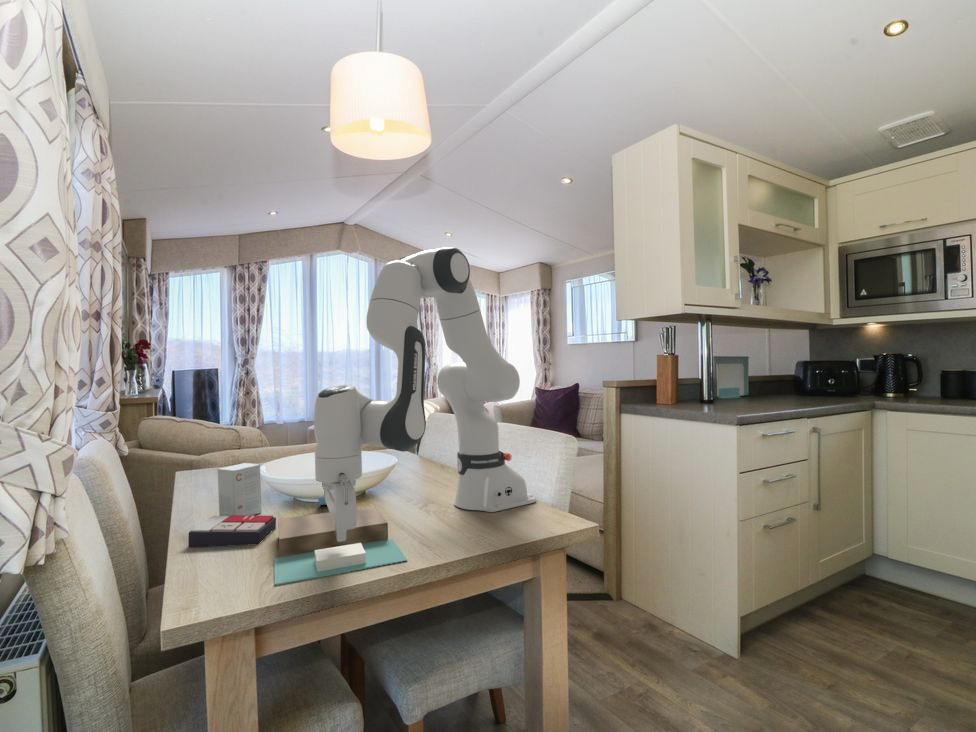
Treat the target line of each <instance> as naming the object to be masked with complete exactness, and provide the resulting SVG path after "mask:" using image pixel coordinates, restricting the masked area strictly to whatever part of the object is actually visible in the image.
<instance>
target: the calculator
mask: <svg viewBox="0 0 976 732" xmlns="http://www.w3.org/2000/svg"><path fill="white" fill-rule="evenodd" d="M276 528H277V518H276V516H275V517H274V515H259V514H256V515H231V516H230V517H229V516H219V515H212V516H211V517H209V518H208V519H207V520H205V521H203V522H202V523H200V524H199V525H197V526H196V527H195V528H193V529H191V530H190V531H189V532H188V542H187V543H188V545H187V546H188V547H194V548H208V546H209V547H218V546H219V547H228V545H235V546H249V545H248V544H256V545H259V543H260V542H261V541H262V540H263V539H264V538H265V537H266V536H267V535H268V534H269V533H270V532H271V531H272V532H273V531H275V530H276ZM272 532H271V533H272ZM271 533H270V534H271ZM270 534H269V535H270ZM269 535H268V536H269ZM268 536H267V537H268ZM267 537H266V538H267ZM266 538H265V539H266ZM265 539H264V540H265ZM264 540H263V541H264ZM263 541H262V542H263ZM262 542H261V543H262ZM261 543H260V544H261Z"/></svg>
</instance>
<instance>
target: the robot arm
mask: <svg viewBox="0 0 976 732" xmlns="http://www.w3.org/2000/svg"><path fill="white" fill-rule="evenodd" d="M470 274H471V268H470V263H469V260H468V258H467V257H466V256H465V254H464V253H463V252H462V251H461V250H460V249H459V248H457V247H451V246H445V247H440V248H435V249H428V250H427V249H425V250H422V251H419V252H418V253H414V254H411V255H409V256H403V257H401V258H399V259H396V260H393V261H389V262H387V263H386V264H384V265H383V266H382V267H381V270H380V272H379V274H378V276H377V279H376V281H375V284H374V286H373V290H372V293H371V295H370V300H369V304H368V308H367V313H366V328H367V331H368V333H369V335H370V336H371V338H372V339H373V340H375V342H376V343H378V344H380V345H381V346H382V347H385V348H387V349H389V350H391V351H393V352H394V353H395V355H396V357H397V379H396V394H395V396H394V398H393V399H392V400H379V399H373V398H372V397H367V396H365V395H363V394H362V393H360V392H359V391H358V390H357V387H356V386H354V385H348V384H347V385H346V384H345V385H338V386H337V385H336V386H332V387H328V388H325V389H323V390H322V391H320V392H319V393H318V394H317V396H316V399H315V404H314V413H313V431H314V432H313V433H314V437H315V441H316V448H315V452H314V470H315V471H314V477H315V480H316V482H318V481H319V482H322V487H323V489H324V496H325V501H326V504H327V509H328V511H329V512H330V514H331V517H332V519H333V522H334V526H335V536H336V539H337V541H338V542H341V541H345V540H346V531H347V530H349V529H354V528H356V525H357V510H356V509H357V497H356V496H357V495H356V490H355V487H356V485H357V479H360V478H362V477H363V457H362V456H363V455H362V453H363V451H362V446H363V445H364V446H370V447H376V448H387V449H389V450H394V451H398V452H409V451H410V450H412V449H413V448H415V446H417V445H418V444H419V442H420V441H421V440H422V439H423V437H424V435H425V432H426V427H427V426H426V423H427V421H426V413H425V403H424V402H425V382H426V381H425V376H426V375H425V374H426V342H425V341H426V340H425V337H424V334H423V332H422V330H420V329H419V326H418V325H419V324H418V322H419V321H418V318H419V313H420V307H421V299H424V298H425V299H427V298H434V299H435V303H436V309H437V314H438V317H439V321H440V325H441V328H442V333H443V336H444V340H445V344H446V346H447V347H448V349H449V350H451V351H452V352H454V353H455V354H456V355H457V356H459V358H460V359H461V360H462V361H458V362H453V363H450V364H447V365H444V366H442V368H441V369H440V371H439V372H438V375H437V381H436V383H437V388H438V391H439V392H440V394H441V395H442V397H444V398H445V399H446V400H447V402H448V403H449V405H450V407H451V410H452V411H453V414H454V417H455V420H456V425H457V438H458V452H457V455H456V456H457V457H456V458H457V459H456V467H457V473H458V477H457V486H456V487H457V488H456V493H455V498H454V502H453V505H454V506H455V507H457V508H460V509H463V510H469V511H483V512H489V513H495V512H500V511H505V510H509V509H512V508H516V507H517V508H518V507H521V506H525V505H530V504H533V503H535V502H536V497H535V495H534V494H533V493H531V492H529V491H528V488H527V483H526V481H525V478H524V477H523V476H522V475H521V474H520V473H518V472H517V471H515V470H514V469H513V468H511V467H510V466H508V464H506V461H507V462H510V461H511V460H512V459H513V456H512V454H511V453H508V452H503V451H501V450H500V445H499V443H500V441H499V424H498V422H497V420H496V418H494V417H493V416H491V415H490V414H489V413H488V410H487V409H486V406H485V404H484V403H499V402H503V401H504V402H505V401H508V400H511V399H513V398H514V397H516V395H517V393H518V391H519V389H520V384H521V382H520V381H521V379H520V375H519V372H518V370H517V368H516V367H515V366H514V365H513V364H511V363H510V362H508V361H507V360H505V358H504V357H502V355H501V354H500V353H499V352H498V351H497V349H496V348H495V347H494V345H493V344H492V342H491V340H490V338H489V336H488V335H489V334H488V333H487V330H486V327H485V322H484V318H483V316H482V315H483V314H482V311H481V307H480V303H479V300H478V297H477V294H476V292H475V288H474V286H473V285H472V282H471V280H470V276H471V275H470ZM329 512H328V513H329Z"/></svg>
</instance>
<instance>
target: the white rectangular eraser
mask: <svg viewBox="0 0 976 732" xmlns="http://www.w3.org/2000/svg"><path fill="white" fill-rule="evenodd" d="M364 563H366V552H365V550H364V548H363V546H362V544H361V543H356V544H350V545H344V546H338V547H332V548H325V549H319V550H315V564H316V569H317V572H319V571H325V570H330V569H336V568H342V567H347V566H353V565H358V564H364Z"/></svg>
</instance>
